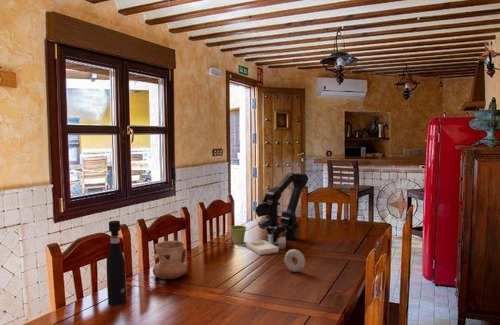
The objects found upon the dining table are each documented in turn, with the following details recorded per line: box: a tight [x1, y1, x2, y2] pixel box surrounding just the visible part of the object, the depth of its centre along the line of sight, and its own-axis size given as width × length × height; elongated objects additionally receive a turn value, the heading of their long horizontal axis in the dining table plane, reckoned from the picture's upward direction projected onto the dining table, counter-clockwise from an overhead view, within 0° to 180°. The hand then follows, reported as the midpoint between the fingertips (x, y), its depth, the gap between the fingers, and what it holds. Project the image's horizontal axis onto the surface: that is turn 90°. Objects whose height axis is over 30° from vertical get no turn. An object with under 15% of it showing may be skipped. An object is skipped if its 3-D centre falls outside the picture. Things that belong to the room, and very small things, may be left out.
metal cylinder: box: [277, 235, 287, 250], centre depth 217 cm, size 4×4×6 cm
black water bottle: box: [106, 220, 127, 307], centre depth 148 cm, size 6×6×30 cm
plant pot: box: [229, 225, 247, 245], centre depth 228 cm, size 9×9×9 cm
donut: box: [284, 248, 306, 273], centre depth 179 cm, size 10×4×10 cm, turn 54°
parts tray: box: [245, 239, 280, 256], centre depth 214 cm, size 11×16×2 cm
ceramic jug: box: [152, 240, 188, 280], centre depth 176 cm, size 18×14×14 cm
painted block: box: [267, 233, 278, 245], centre depth 226 cm, size 4×4×5 cm
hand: (272, 241), depth 226 cm, fingers closed on painted block, 4 cm apart
